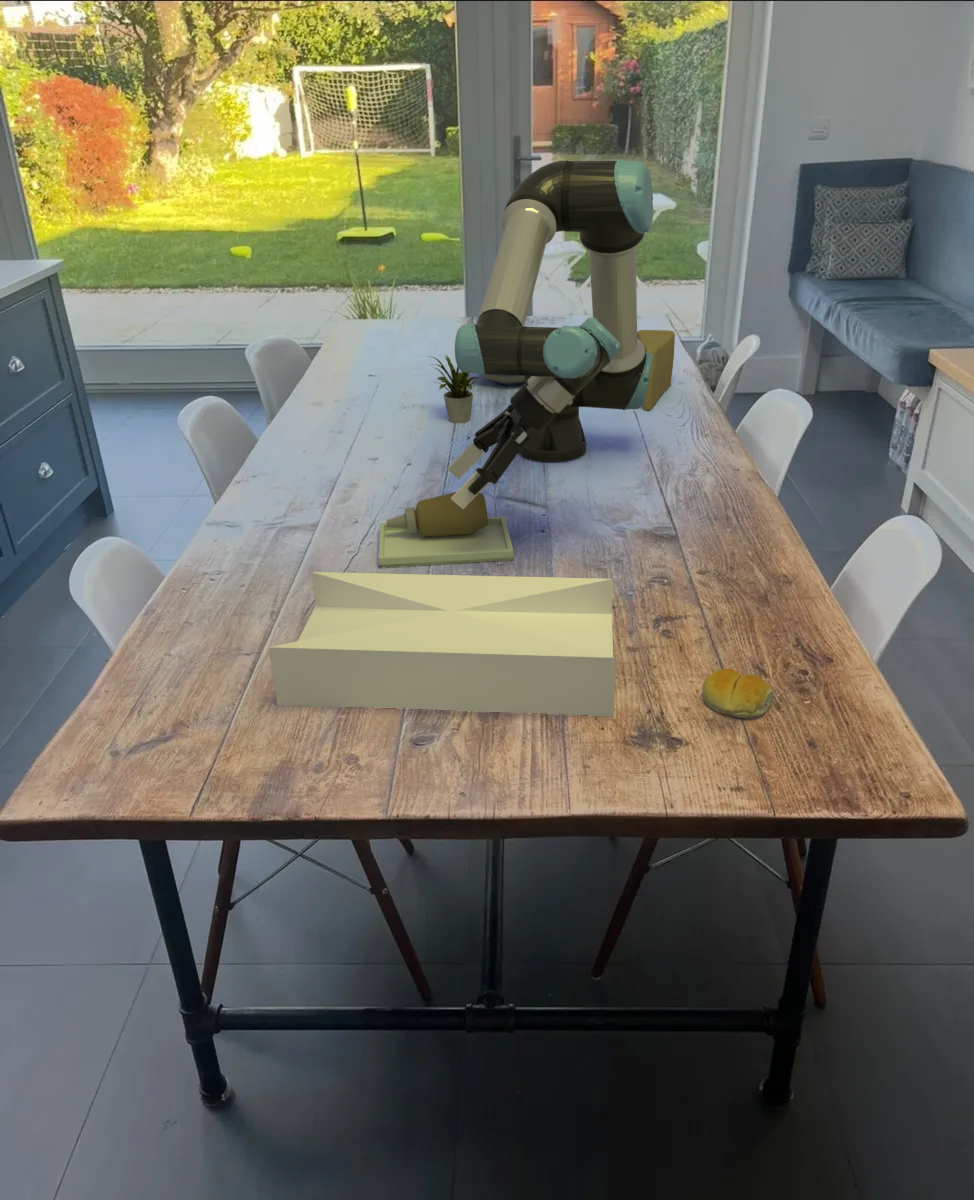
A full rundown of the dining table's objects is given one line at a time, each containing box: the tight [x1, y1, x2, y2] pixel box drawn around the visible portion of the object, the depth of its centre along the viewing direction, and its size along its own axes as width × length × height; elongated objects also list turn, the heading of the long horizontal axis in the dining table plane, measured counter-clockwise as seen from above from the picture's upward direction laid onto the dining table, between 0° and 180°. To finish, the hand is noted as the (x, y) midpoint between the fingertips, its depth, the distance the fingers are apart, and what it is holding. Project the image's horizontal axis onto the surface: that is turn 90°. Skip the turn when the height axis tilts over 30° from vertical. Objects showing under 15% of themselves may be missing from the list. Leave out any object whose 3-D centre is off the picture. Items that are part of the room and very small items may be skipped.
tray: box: [378, 515, 515, 568], centre depth 177 cm, size 23×15×2 cm, turn 95°
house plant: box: [428, 354, 482, 424], centre depth 236 cm, size 14×14×16 cm
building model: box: [268, 571, 617, 718], centre depth 140 cm, size 45×22×10 cm, turn 84°
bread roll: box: [701, 668, 774, 719], centre depth 132 cm, size 8×9×4 cm
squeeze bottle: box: [385, 491, 489, 537], centre depth 179 cm, size 8×8×18 cm
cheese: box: [637, 329, 676, 411], centre depth 248 cm, size 22×10×15 cm, turn 168°
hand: (454, 488), depth 172 cm, fingers open, 13 cm apart
